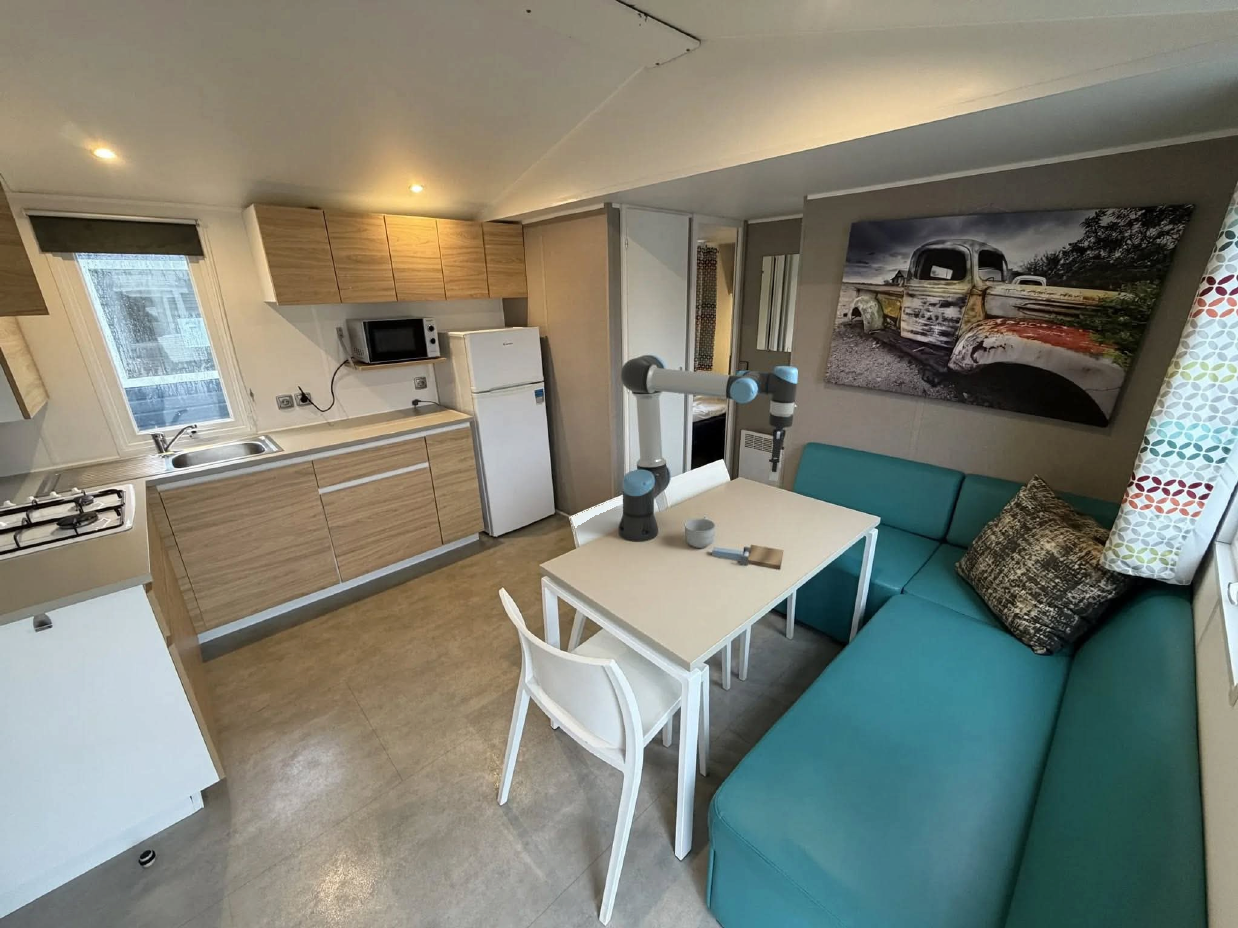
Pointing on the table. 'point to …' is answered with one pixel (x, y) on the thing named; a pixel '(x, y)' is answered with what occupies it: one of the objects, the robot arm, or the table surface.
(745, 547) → the hinge cheek
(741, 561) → the hinge cheek
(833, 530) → the table surface
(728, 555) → the leg
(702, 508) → the table surface
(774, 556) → the board
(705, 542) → the teacup
